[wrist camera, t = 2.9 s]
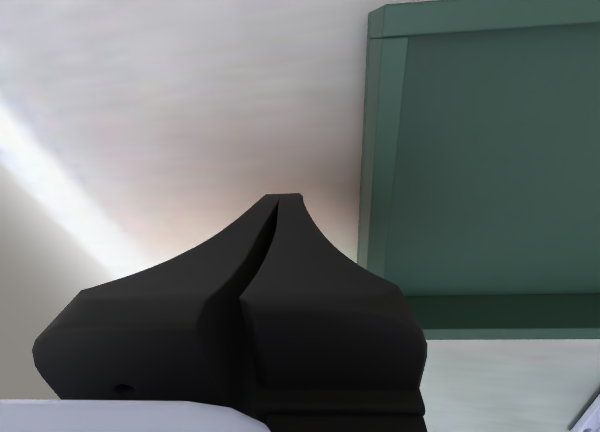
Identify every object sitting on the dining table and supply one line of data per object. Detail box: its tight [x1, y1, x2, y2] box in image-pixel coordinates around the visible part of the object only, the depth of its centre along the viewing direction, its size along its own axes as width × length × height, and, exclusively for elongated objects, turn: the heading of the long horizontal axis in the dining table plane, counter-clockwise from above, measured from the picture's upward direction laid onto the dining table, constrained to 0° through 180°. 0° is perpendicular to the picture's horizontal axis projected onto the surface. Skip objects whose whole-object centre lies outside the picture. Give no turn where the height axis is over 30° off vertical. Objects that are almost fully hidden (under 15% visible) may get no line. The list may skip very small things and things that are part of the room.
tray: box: [357, 0, 600, 340], centre depth 11 cm, size 12×14×2 cm
